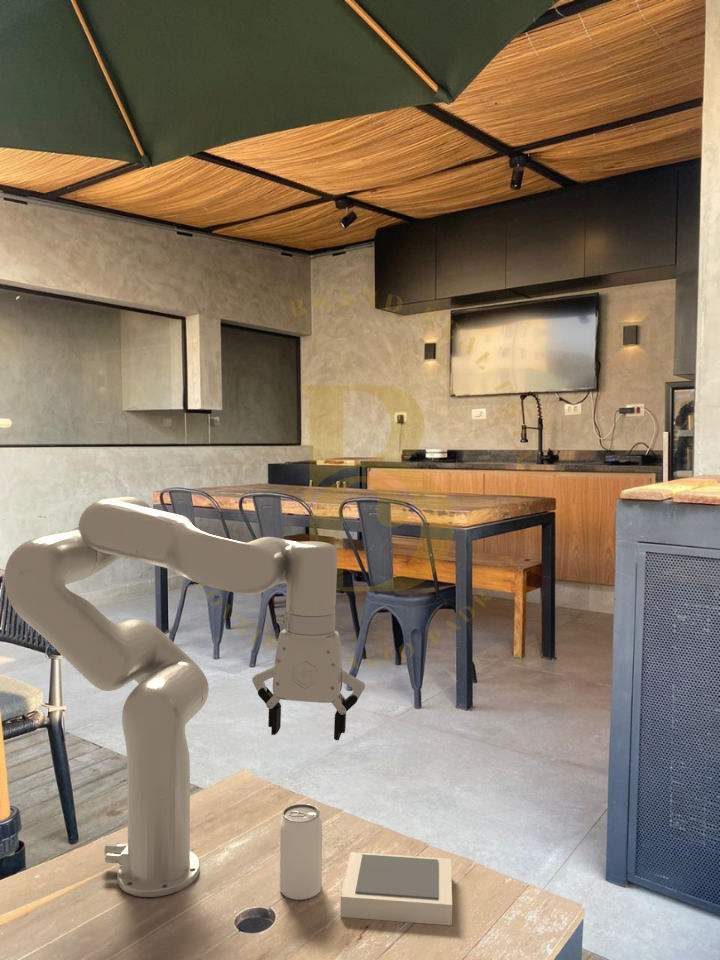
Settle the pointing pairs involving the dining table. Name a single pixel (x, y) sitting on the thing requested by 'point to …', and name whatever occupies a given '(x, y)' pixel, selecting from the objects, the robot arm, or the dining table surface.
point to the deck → (398, 888)
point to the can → (301, 852)
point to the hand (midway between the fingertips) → (306, 734)
